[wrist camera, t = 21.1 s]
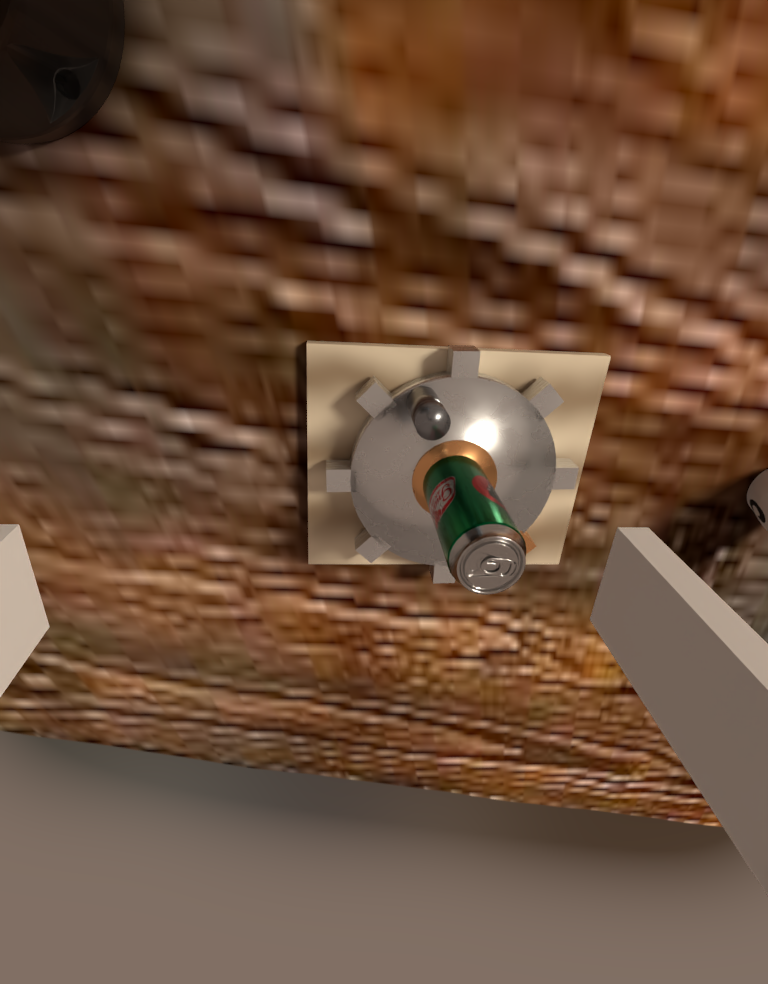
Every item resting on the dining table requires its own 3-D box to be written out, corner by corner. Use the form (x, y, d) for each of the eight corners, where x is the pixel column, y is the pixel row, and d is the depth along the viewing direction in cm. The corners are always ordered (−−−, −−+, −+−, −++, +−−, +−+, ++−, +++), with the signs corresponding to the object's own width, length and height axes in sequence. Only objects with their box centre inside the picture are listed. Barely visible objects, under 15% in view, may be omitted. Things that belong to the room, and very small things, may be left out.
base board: (307, 340, 40) (306, 344, 39) (604, 353, 43) (612, 357, 42) (308, 557, 49) (308, 565, 48) (554, 558, 52) (559, 566, 51)
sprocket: (274, 471, 44) (264, 512, 37) (466, 285, 38) (492, 297, 32) (436, 606, 52) (450, 658, 45) (614, 468, 46) (658, 506, 40)
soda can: (429, 448, 41) (462, 526, 31) (490, 456, 42) (543, 536, 31) (415, 504, 43) (442, 595, 33) (474, 511, 44) (518, 603, 34)
